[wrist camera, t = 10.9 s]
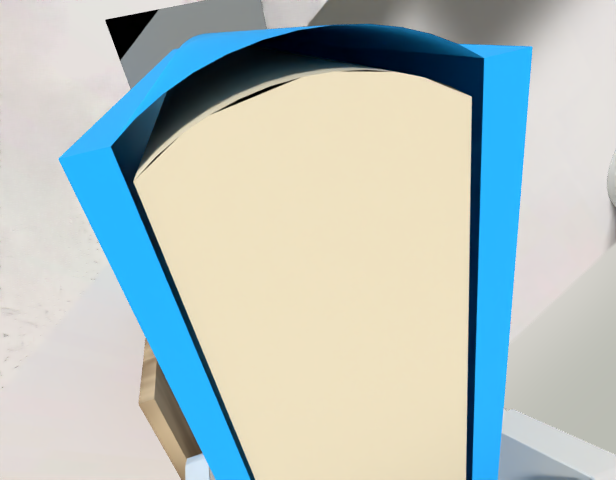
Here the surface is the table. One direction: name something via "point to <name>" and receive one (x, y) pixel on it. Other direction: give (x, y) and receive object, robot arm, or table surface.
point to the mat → (176, 30)
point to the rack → (165, 414)
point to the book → (321, 244)
